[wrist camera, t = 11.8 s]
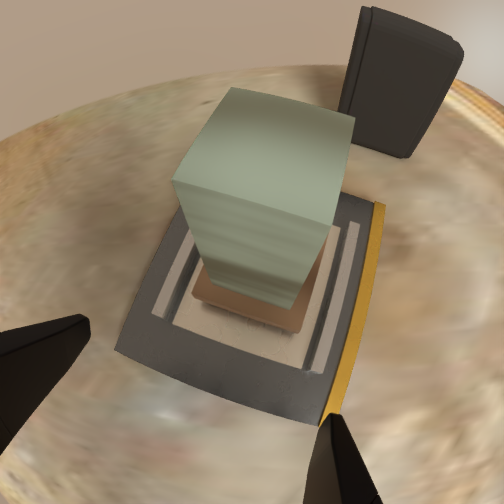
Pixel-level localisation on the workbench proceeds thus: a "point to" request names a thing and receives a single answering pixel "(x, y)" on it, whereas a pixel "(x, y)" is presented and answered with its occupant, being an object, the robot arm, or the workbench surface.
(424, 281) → the workbench surface
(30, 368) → the robot arm
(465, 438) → the workbench surface
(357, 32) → the card reader
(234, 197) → the layered pillar on plinth
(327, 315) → the dock plate
